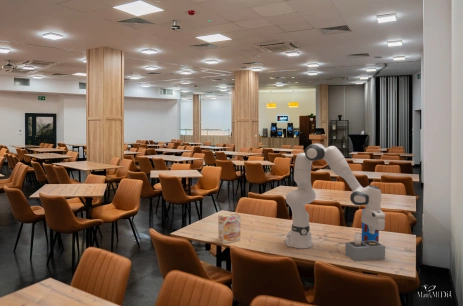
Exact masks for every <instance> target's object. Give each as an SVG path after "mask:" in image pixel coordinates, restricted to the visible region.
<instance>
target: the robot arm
mask: <svg viewBox="0 0 463 306" xmlns="http://www.w3.org/2000/svg"><path fill="white" fill-rule="evenodd" d="M295 157H296V158H295V161H294V169H293V180H294V182H295V183H296V185H297V189H293V190H291V191H289V192H287V194H286V195H285V202H286V204H287V205H288V206H289V207H290V209H291V213H292V215H291V216H292V224H291V229H290V230H289V232H288V233H287V234H286V238H284V242H285V244H286V246H287V247H289V248H295V249H309V248H311V247H312V246H314V245H315V244H314V242H313V241H312V240H313V239H312V232H310V230H311V229H310V228H311V227H310V213H308V211H307V210H306V205H309V204H311V203H312V202H314V201H315V200H316V197H317V195H316V191H315V190H314V188H313V186H312V180H311V179H312V178H311V177H312V175H311V173H312V164H313V162H316V161H321V160H324V161H325V162H326V163H327V165H328V167H329V168H330V170H331V171H332V172H333V174H335V176H339V177H341V178H342V179H344V181H345V182H346V183H347V185H348V186H349V189H351V191H352V193H350V197H349V199H350V202H351V204H353V205H355V206H365V208H363V209H364V210H363V209H362V210H363V212H361V217H360V218H361V219H360V221H361V223H362V222H363V223H365V224H367V225H368V227H369V233H371V234H374V232H375V230H376V229H377V230H379V231H384V230H385V227H386V226H385V225H386V219H385V218H386V213H385V212H384V211H382V208H381V207H382V206H381V203H382V190H381V189H380V188H379V186H376V185H373V184H372V185H367V186H365V187H364V186H363V185H361V183H360V182H359V181H358V179H357V177H356V176H355V175H354V173H353V171H352V169H351V167H350V165H349V163H348V162H347V160H346V158H345V156H344V155H343V153H342V151H340V149H338V148H337V147H336V146H335V145H329V146H328V147H326V146H325V145H324V144H323V143H320V142H316V143H315V142H314V143H312V144H310V145H308V146H307V147H306V148H305V151H304V152H299V153H297V155H296V156H295Z"/></svg>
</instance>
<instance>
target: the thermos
mask: <svg viewBox="0 0 463 306" xmlns="http://www.w3.org/2000/svg"><path fill="white" fill-rule="evenodd" d="M364 209H365V208H363V209H362V210H361V211H362V212H363V210H364ZM362 212H361V213H362ZM379 233H380V230H377V229H376V230H375V232H374V234H371V233H369V227H368V225H367V224H365V223H363V222H362V221H361V241H372V240H374V241H376V242H378V243H380V242H379V241H380V240H379V239H380V238H379V237H380V235H379Z"/></svg>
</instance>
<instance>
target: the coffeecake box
mask: <svg viewBox="0 0 463 306" xmlns="http://www.w3.org/2000/svg"><path fill="white" fill-rule="evenodd" d="M217 216H218V225H217V226H218V227H217V228H218V229H217V231H218V232H217V233H218V235H217V236H218V238H217V239H218V243H219V244H221V245H227V244H231V243H235V242H241V216H242V215H241V213H239V212H229V213H224V214H218V215H217Z"/></svg>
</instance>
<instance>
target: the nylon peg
mask: <svg viewBox="0 0 463 306" xmlns="http://www.w3.org/2000/svg"><path fill="white" fill-rule="evenodd" d="M361 241H362V232H355V233H354V241H353V242H354V244H355V245H361Z"/></svg>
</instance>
